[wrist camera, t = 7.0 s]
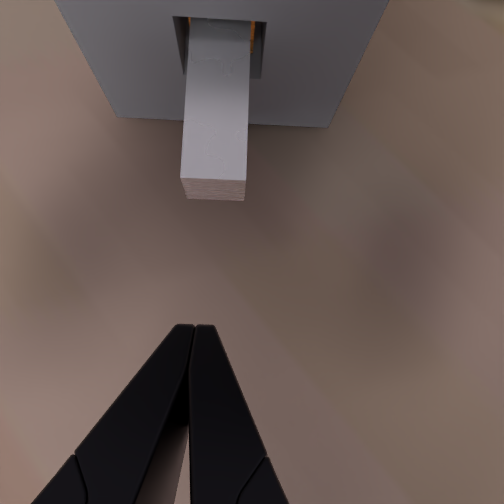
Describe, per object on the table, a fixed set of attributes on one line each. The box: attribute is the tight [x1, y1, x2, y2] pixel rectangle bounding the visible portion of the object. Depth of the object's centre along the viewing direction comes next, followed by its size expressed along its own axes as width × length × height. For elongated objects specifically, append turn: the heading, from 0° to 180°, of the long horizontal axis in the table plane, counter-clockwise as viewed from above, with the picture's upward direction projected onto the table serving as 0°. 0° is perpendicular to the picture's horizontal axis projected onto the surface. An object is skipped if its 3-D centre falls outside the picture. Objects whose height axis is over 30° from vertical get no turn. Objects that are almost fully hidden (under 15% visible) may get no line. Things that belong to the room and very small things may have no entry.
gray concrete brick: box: [54, 0, 389, 128], centre depth 14 cm, size 3×10×10 cm, turn 89°
